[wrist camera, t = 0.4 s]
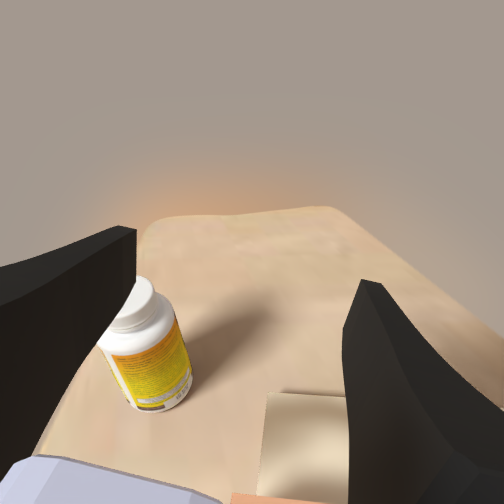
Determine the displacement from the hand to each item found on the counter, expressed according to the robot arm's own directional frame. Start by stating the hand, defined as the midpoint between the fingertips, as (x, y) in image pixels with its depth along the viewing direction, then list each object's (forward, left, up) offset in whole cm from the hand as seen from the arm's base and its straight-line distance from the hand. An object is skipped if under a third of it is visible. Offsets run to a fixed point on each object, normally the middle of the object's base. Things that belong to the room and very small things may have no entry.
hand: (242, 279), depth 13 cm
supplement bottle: (+8, +10, -19) cm, 23 cm away
